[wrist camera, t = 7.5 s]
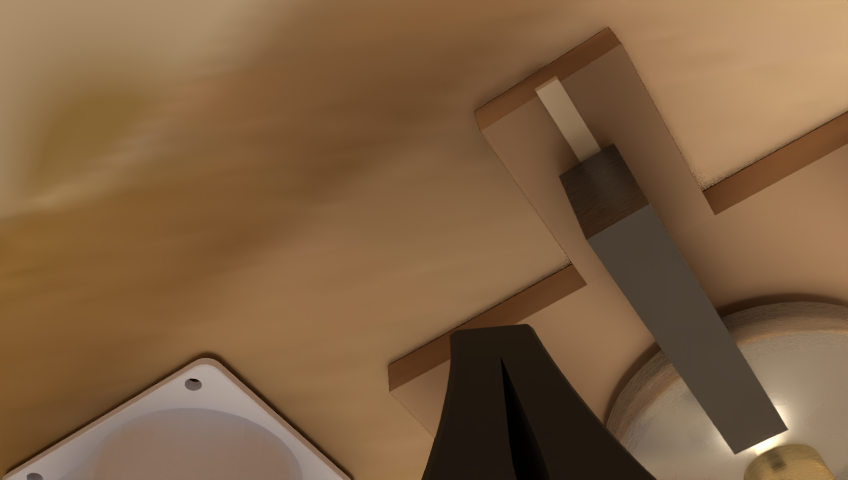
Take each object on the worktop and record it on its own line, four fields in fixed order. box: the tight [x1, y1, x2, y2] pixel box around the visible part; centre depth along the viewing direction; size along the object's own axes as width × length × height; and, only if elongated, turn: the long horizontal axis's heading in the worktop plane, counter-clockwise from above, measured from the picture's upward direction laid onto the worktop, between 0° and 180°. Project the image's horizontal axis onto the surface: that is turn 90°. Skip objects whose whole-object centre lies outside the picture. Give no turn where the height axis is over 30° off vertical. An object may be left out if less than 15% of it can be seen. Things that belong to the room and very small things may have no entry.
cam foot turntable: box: [559, 143, 848, 480], centre depth 23 cm, size 17×10×4 cm, turn 34°
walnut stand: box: [388, 27, 848, 438], centre depth 26 cm, size 18×22×1 cm
